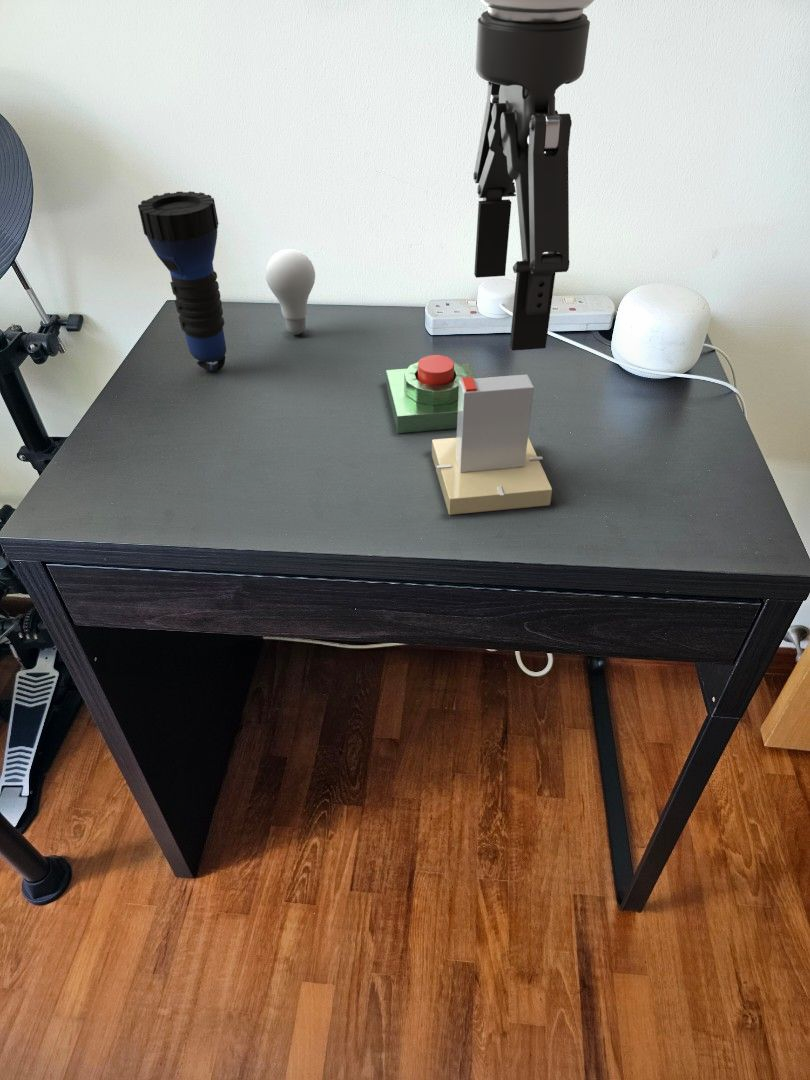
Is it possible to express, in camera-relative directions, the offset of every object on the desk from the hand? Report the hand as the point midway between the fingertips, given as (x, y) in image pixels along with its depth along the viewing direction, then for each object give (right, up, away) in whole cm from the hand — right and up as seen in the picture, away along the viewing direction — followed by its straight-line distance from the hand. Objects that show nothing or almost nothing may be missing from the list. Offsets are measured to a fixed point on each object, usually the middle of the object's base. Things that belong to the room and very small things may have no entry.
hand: (507, 309), depth 67 cm
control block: (-5, -4, +23) cm, 24 cm away
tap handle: (0, -12, +11) cm, 17 cm away
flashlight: (-33, +1, +30) cm, 44 cm away
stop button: (-5, -2, +21) cm, 22 cm away
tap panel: (0, -13, +13) cm, 19 cm away
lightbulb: (-23, +7, +37) cm, 44 cm away
